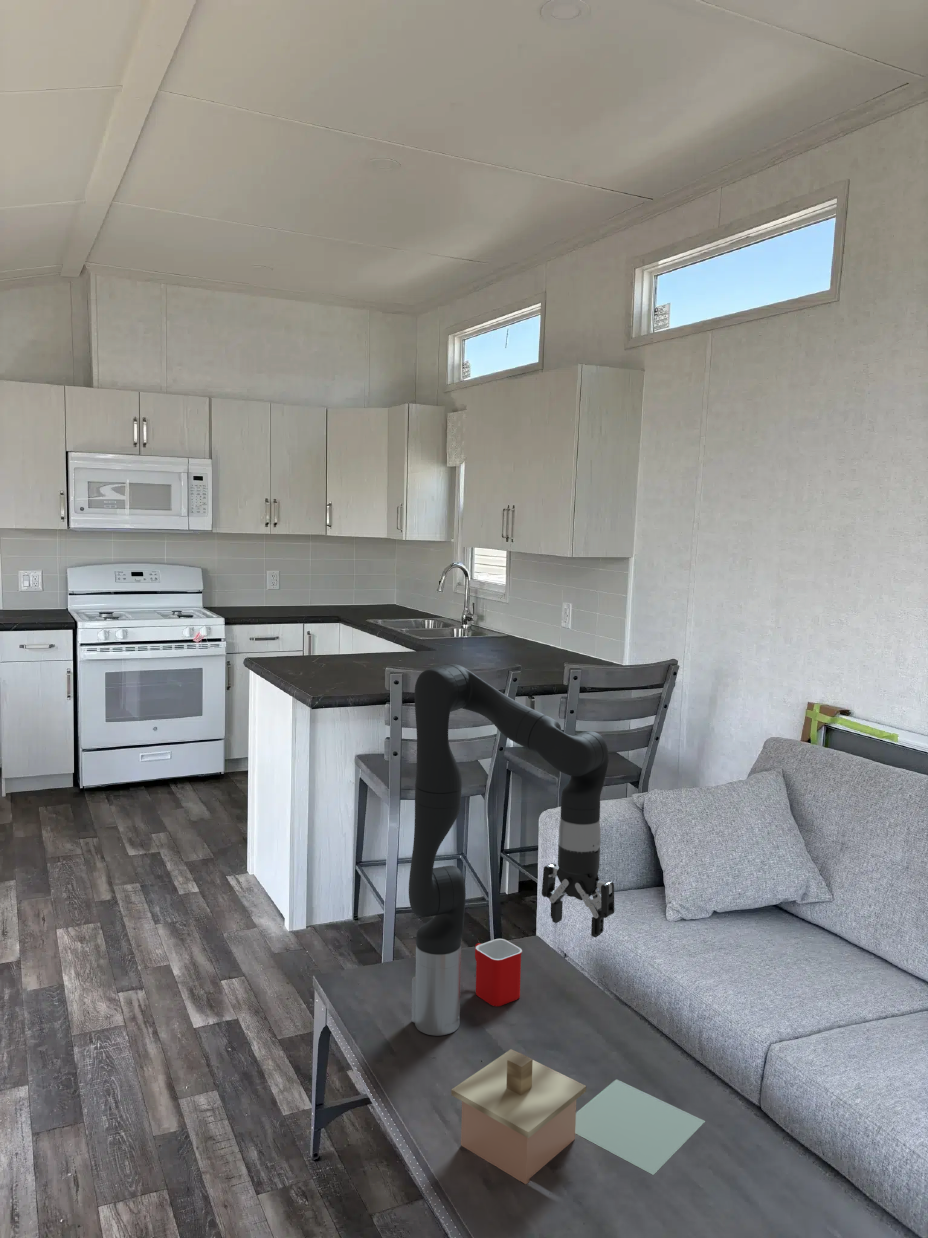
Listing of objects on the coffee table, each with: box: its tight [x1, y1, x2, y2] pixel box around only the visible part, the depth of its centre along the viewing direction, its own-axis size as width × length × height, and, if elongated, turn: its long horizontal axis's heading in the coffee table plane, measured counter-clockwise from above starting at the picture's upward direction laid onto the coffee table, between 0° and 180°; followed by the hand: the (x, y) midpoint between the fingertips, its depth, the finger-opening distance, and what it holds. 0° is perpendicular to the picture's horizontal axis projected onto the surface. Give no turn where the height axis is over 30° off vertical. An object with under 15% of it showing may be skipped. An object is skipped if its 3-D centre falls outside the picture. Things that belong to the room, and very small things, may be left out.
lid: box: [450, 1048, 587, 1138], centre depth 156 cm, size 16×16×6 cm
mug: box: [474, 938, 523, 1007], centre depth 206 cm, size 12×8×11 cm
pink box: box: [460, 1099, 577, 1185], centre depth 156 cm, size 14×14×9 cm
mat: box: [575, 1079, 706, 1176], centre depth 162 cm, size 18×18×1 cm
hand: (576, 928), depth 171 cm, fingers open, 8 cm apart
